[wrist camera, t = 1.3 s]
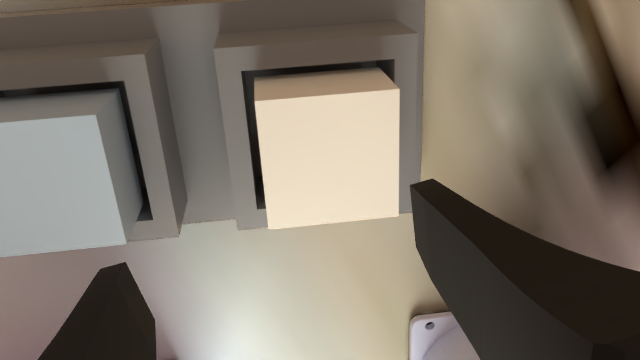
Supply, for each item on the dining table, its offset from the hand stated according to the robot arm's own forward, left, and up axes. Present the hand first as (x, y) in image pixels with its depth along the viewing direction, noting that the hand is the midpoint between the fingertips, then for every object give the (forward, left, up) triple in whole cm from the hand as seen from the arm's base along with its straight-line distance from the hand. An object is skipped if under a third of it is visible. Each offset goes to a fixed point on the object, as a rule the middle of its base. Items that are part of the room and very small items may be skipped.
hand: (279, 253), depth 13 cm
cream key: (-2, -1, -7) cm, 7 cm away
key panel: (+3, -1, -11) cm, 11 cm away
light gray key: (+7, -1, -7) cm, 10 cm away
